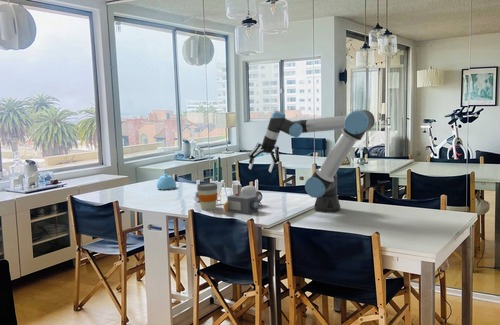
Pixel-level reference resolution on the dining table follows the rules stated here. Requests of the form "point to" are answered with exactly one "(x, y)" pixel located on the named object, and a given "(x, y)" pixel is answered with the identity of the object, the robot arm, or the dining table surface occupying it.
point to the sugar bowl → (166, 182)
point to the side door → (226, 207)
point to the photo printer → (248, 190)
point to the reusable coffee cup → (207, 195)
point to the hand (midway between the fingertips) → (259, 170)
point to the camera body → (243, 203)
